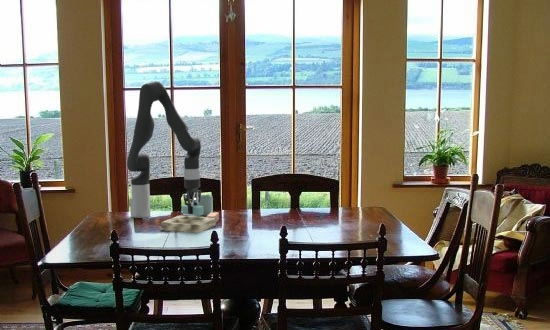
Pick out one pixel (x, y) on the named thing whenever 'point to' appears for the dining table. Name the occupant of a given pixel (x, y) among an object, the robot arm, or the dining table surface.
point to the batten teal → (196, 210)
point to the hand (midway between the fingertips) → (193, 212)
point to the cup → (206, 203)
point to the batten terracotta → (214, 215)
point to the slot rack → (188, 224)
